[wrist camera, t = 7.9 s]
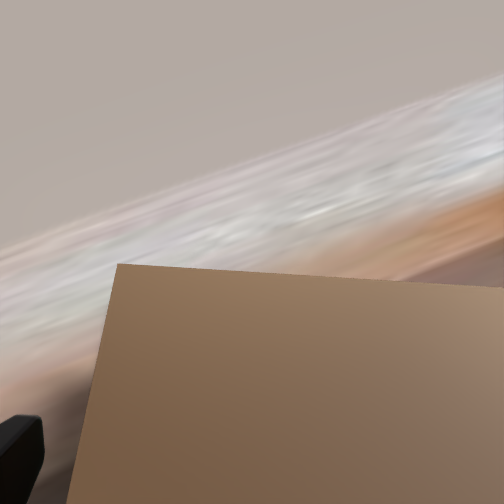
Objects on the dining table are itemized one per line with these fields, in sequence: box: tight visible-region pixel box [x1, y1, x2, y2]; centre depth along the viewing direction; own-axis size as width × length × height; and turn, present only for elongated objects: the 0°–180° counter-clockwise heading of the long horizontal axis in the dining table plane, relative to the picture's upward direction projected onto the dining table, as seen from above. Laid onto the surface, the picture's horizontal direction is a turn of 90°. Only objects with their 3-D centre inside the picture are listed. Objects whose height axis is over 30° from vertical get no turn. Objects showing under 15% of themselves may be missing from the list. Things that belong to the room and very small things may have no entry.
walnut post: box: [66, 264, 504, 504], centre depth 9 cm, size 4×4×13 cm
